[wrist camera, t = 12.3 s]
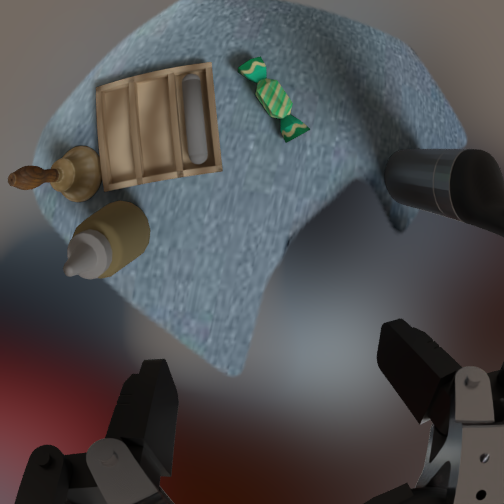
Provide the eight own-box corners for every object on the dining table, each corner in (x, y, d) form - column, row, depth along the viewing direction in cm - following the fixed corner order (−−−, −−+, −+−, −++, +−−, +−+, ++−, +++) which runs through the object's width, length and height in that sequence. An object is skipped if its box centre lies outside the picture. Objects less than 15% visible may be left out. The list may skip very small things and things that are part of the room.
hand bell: (64, 142, 32) (-5, 136, 16) (109, 151, 33) (46, 144, 18) (53, 195, 34) (-16, 213, 18) (96, 207, 35) (32, 232, 20)
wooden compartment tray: (211, 68, 31) (211, 62, 29) (222, 171, 36) (222, 171, 34) (102, 91, 30) (96, 87, 28) (110, 190, 35) (104, 191, 32)
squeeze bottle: (164, 209, 37) (119, 243, 19) (147, 261, 38) (101, 326, 21) (113, 189, 35) (41, 209, 18) (99, 241, 37) (31, 291, 20)
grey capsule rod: (200, 75, 31) (199, 69, 29) (209, 163, 34) (208, 162, 32) (182, 78, 31) (180, 72, 28) (190, 165, 34) (188, 165, 32)
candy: (237, 74, 32) (238, 64, 29) (257, 63, 32) (261, 53, 28) (283, 143, 36) (290, 140, 32) (304, 131, 36) (313, 128, 32)
